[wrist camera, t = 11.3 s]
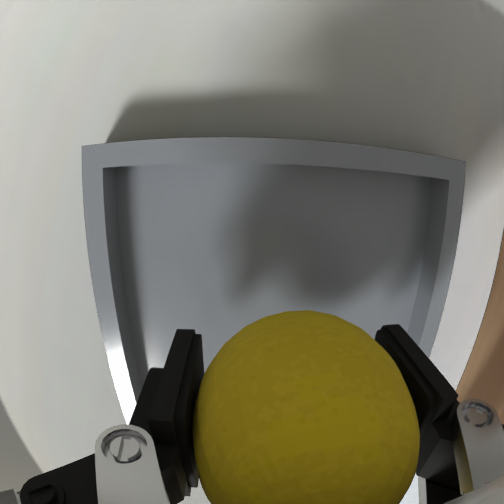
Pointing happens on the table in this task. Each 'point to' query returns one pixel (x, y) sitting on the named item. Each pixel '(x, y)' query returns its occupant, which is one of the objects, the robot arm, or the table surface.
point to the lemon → (304, 416)
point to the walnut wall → (488, 351)
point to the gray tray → (262, 240)
